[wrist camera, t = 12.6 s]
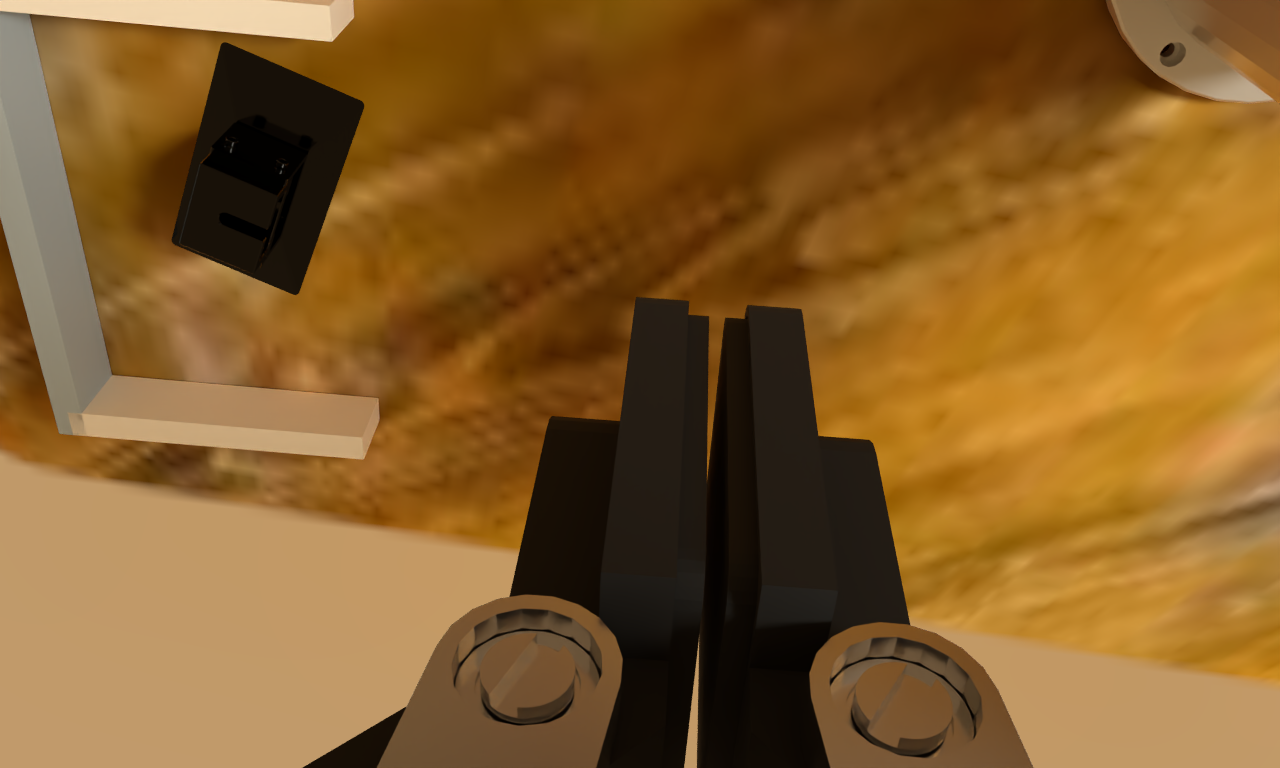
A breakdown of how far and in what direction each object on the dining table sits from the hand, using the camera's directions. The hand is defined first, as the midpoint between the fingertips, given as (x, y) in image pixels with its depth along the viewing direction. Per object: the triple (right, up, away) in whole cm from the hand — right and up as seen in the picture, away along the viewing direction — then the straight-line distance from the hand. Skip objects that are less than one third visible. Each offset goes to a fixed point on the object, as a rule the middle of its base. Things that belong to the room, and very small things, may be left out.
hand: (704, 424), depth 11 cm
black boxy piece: (-16, +9, +32) cm, 37 cm away
